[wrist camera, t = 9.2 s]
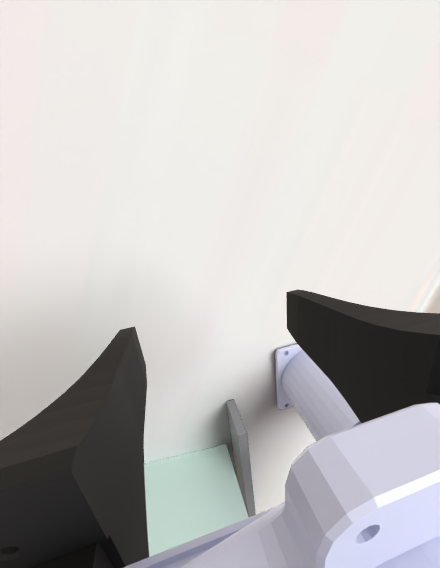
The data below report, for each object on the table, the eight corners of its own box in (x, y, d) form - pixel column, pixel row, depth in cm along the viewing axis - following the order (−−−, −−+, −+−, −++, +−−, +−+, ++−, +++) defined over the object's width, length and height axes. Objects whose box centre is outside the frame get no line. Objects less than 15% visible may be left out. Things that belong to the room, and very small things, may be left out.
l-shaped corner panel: (126, 538, 31) (120, 638, 24) (111, 469, 26) (100, 569, 20) (224, 508, 34) (243, 590, 27) (225, 442, 29) (249, 521, 22)
